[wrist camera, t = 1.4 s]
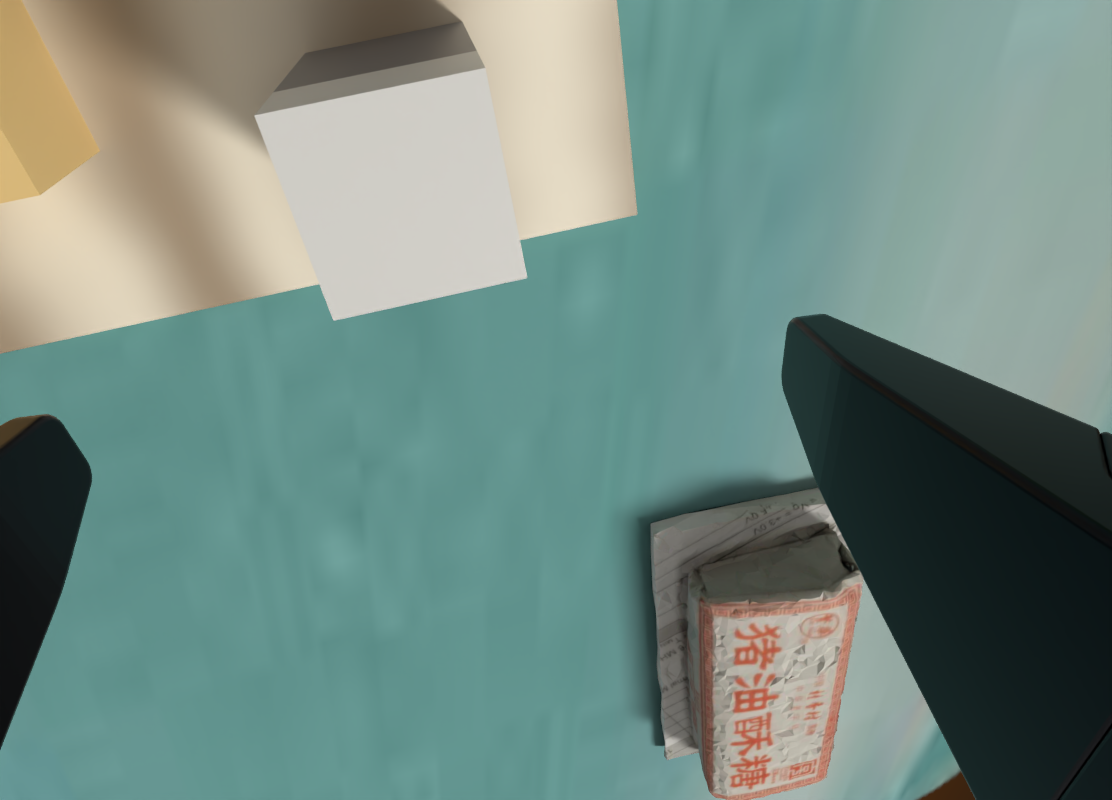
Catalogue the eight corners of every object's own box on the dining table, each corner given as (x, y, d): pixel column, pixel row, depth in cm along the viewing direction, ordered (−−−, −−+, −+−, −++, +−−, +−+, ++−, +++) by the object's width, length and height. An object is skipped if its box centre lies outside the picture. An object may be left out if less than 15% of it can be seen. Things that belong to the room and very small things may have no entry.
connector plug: (356, 206, 20) (333, 321, 14) (305, 53, 18) (253, 115, 12) (494, 177, 20) (527, 277, 15) (462, 21, 18) (485, 67, 12)
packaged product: (868, 784, 37) (685, 828, 37) (825, 701, 41) (659, 740, 41) (930, 546, 27) (677, 601, 27) (864, 466, 31) (643, 513, 30)
